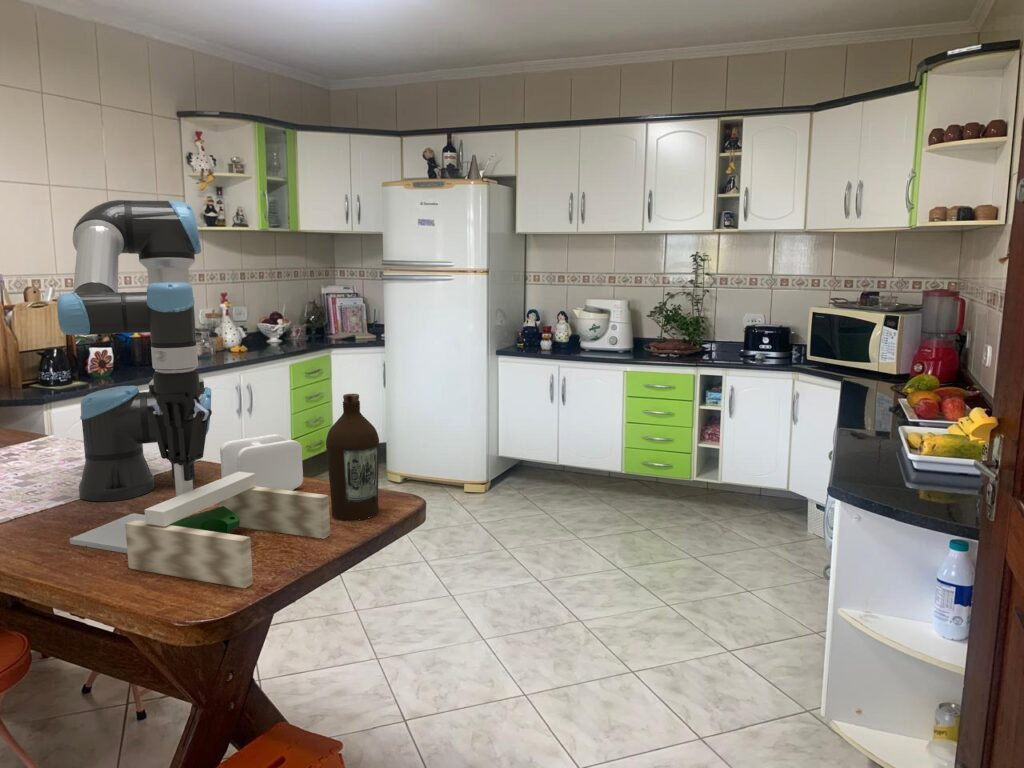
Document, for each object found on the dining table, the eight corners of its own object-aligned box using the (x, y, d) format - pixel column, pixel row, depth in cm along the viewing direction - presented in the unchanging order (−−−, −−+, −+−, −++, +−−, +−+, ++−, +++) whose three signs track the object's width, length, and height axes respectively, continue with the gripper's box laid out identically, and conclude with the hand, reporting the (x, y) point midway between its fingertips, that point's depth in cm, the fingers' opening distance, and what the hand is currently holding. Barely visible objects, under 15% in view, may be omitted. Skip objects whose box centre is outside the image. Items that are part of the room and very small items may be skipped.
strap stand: (128, 568, 134) (124, 523, 132) (226, 520, 157) (224, 482, 156) (245, 588, 126) (242, 541, 125) (330, 535, 149) (328, 495, 148)
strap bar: (145, 523, 132) (144, 509, 131) (239, 483, 154) (238, 471, 153) (164, 526, 130) (163, 512, 130) (256, 485, 153) (255, 473, 152)
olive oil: (321, 511, 163) (316, 393, 159) (368, 502, 169) (364, 388, 165) (341, 526, 154) (336, 402, 150) (389, 515, 160) (386, 396, 156)
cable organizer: (238, 502, 168) (235, 450, 166) (221, 491, 176) (218, 441, 174) (304, 489, 178) (301, 439, 176) (284, 478, 186) (282, 431, 184)
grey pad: (70, 543, 145) (69, 538, 145) (133, 517, 159) (133, 513, 158) (129, 553, 140) (128, 548, 140) (189, 526, 154) (188, 521, 154)
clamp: (195, 577, 141) (180, 543, 135) (175, 562, 144) (160, 528, 138) (249, 536, 148) (237, 502, 143) (229, 522, 151) (217, 489, 146)
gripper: (130, 370, 138) (141, 499, 142) (189, 374, 134) (199, 507, 137) (162, 365, 145) (172, 487, 149) (219, 368, 140) (227, 494, 144)
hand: (185, 496), depth 143 cm, fingers closed
